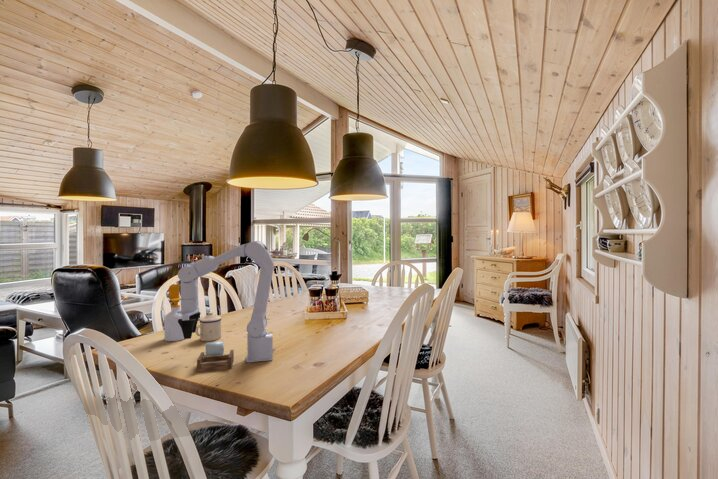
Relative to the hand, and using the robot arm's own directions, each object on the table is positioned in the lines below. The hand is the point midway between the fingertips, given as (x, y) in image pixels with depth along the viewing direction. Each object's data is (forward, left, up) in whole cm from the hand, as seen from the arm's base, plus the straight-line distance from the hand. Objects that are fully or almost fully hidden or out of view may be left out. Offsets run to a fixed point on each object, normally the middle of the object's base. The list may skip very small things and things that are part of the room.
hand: (190, 335), depth 126 cm
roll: (-8, -5, -10) cm, 14 cm away
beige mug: (-2, -27, -10) cm, 29 cm away
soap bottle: (+12, -32, -10) cm, 36 cm away
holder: (-10, +7, -10) cm, 15 cm away
